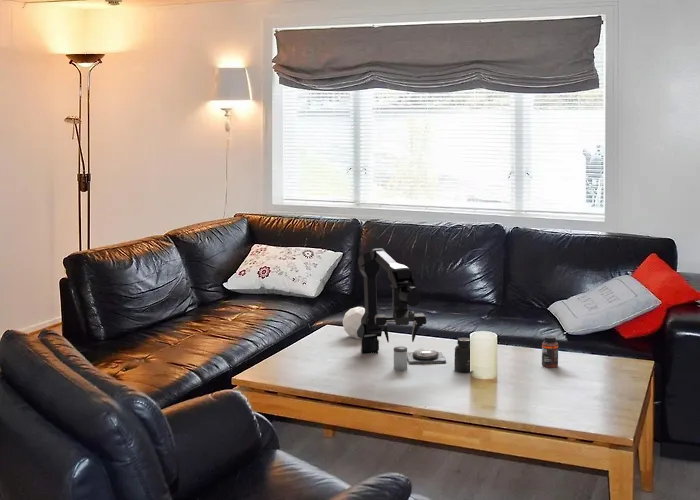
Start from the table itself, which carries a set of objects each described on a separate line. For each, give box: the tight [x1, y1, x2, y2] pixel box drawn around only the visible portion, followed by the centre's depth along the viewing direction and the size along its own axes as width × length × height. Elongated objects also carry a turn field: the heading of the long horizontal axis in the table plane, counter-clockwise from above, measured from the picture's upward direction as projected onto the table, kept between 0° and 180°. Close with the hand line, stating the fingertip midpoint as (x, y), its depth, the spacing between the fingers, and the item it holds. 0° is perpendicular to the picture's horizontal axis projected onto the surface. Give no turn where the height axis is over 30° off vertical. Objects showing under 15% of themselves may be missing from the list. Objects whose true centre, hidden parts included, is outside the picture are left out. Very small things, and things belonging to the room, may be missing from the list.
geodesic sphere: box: [342, 305, 365, 340], centre depth 350 cm, size 14×14×14 cm
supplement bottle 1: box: [453, 337, 471, 374], centre depth 302 cm, size 7×7×12 cm
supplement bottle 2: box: [541, 334, 559, 369], centre depth 306 cm, size 6×6×11 cm
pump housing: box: [393, 346, 408, 372], centre depth 305 cm, size 5×5×8 cm
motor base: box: [407, 347, 447, 365], centre depth 318 cm, size 14×12×3 cm
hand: (400, 341), depth 304 cm, fingers open, 9 cm apart
